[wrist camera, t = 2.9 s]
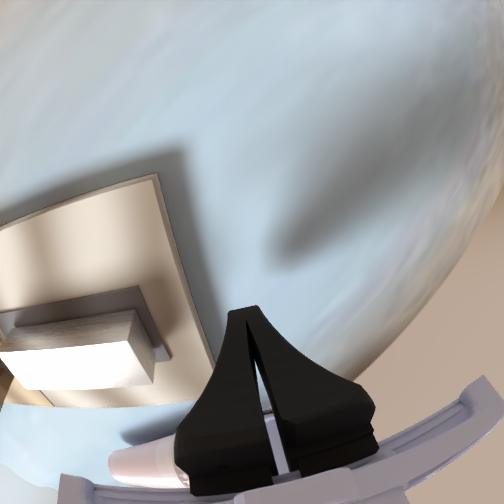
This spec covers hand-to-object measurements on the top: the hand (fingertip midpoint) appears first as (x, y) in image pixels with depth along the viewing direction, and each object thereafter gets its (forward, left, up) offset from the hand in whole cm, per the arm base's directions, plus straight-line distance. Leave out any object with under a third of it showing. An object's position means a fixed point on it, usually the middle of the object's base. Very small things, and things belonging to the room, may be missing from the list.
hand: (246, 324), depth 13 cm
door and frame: (+13, 0, -3) cm, 14 cm away
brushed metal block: (+9, 0, -1) cm, 10 cm away
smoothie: (+15, +17, 0) cm, 23 cm away
